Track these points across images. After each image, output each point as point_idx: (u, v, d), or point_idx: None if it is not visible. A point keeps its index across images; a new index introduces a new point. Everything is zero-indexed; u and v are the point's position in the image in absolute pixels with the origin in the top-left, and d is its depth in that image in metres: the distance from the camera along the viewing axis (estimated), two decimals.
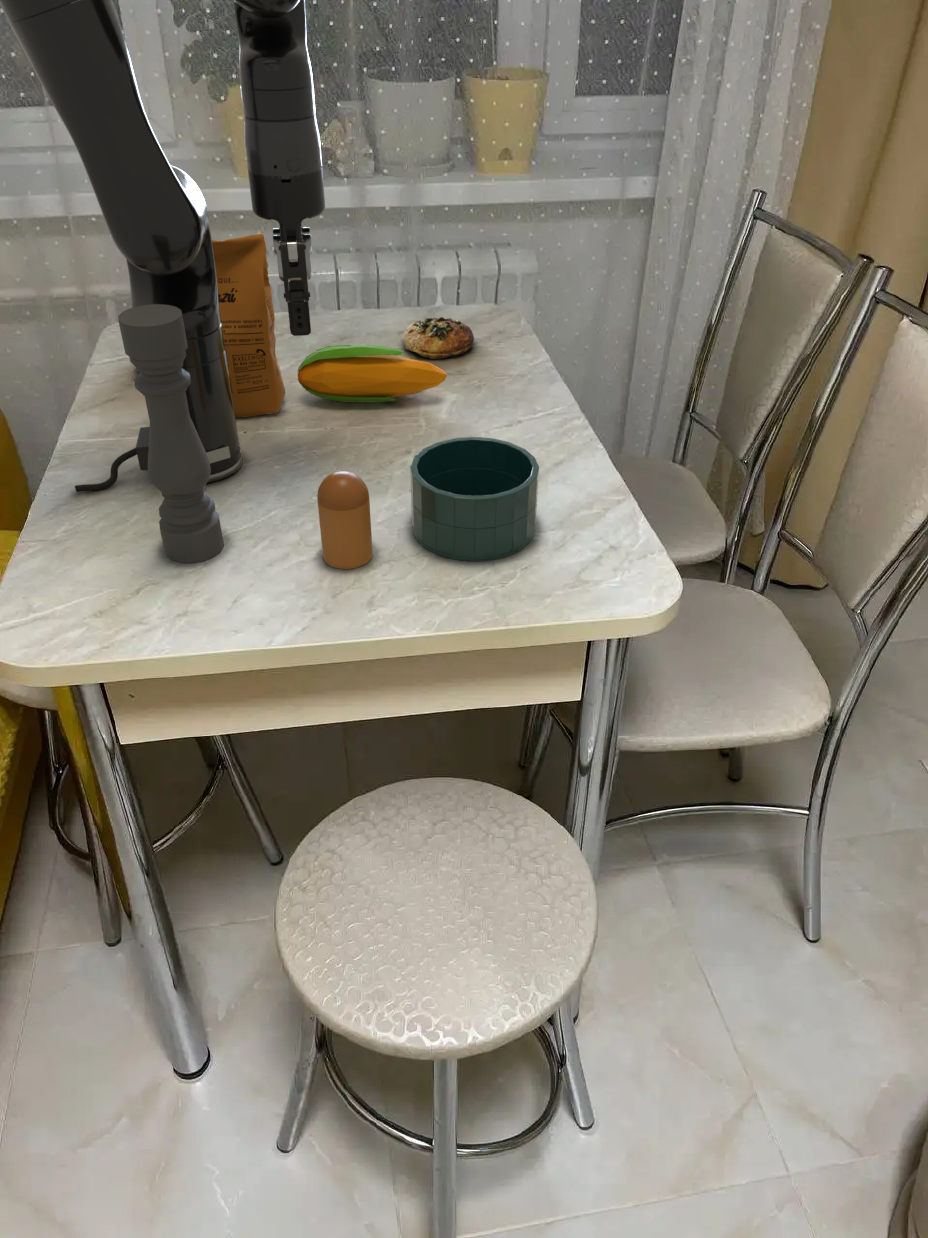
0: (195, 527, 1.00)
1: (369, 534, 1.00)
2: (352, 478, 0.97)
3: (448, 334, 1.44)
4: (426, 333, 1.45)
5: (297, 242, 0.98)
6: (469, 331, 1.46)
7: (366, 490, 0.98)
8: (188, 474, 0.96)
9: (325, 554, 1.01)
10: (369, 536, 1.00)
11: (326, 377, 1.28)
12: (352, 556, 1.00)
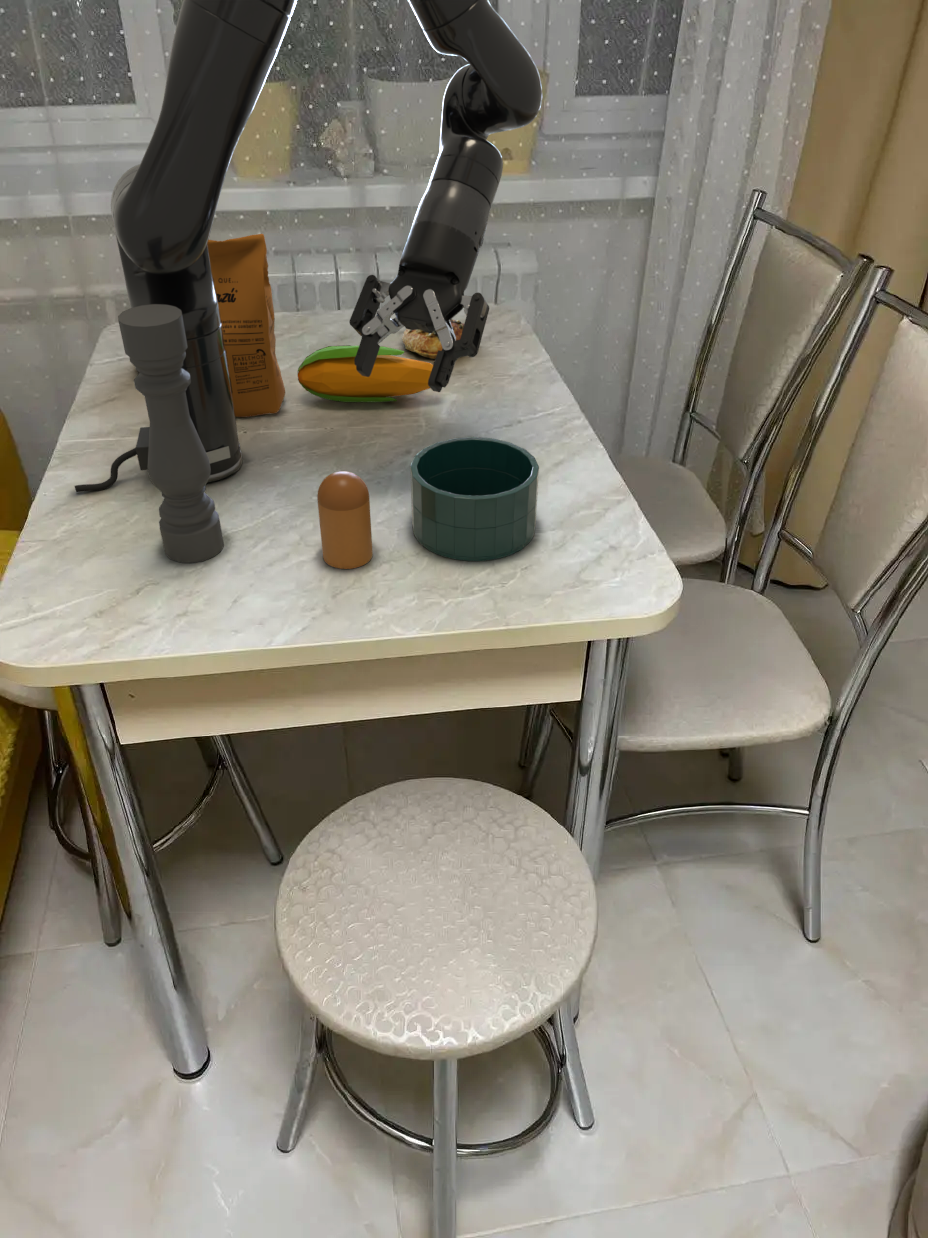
0: (195, 527, 1.00)
1: (369, 534, 1.00)
2: (352, 478, 0.97)
3: None
4: (426, 333, 1.45)
5: None
6: None
7: (366, 490, 0.98)
8: (187, 474, 0.96)
9: (325, 554, 1.01)
10: (369, 536, 1.00)
11: (325, 377, 1.28)
12: (352, 556, 1.00)
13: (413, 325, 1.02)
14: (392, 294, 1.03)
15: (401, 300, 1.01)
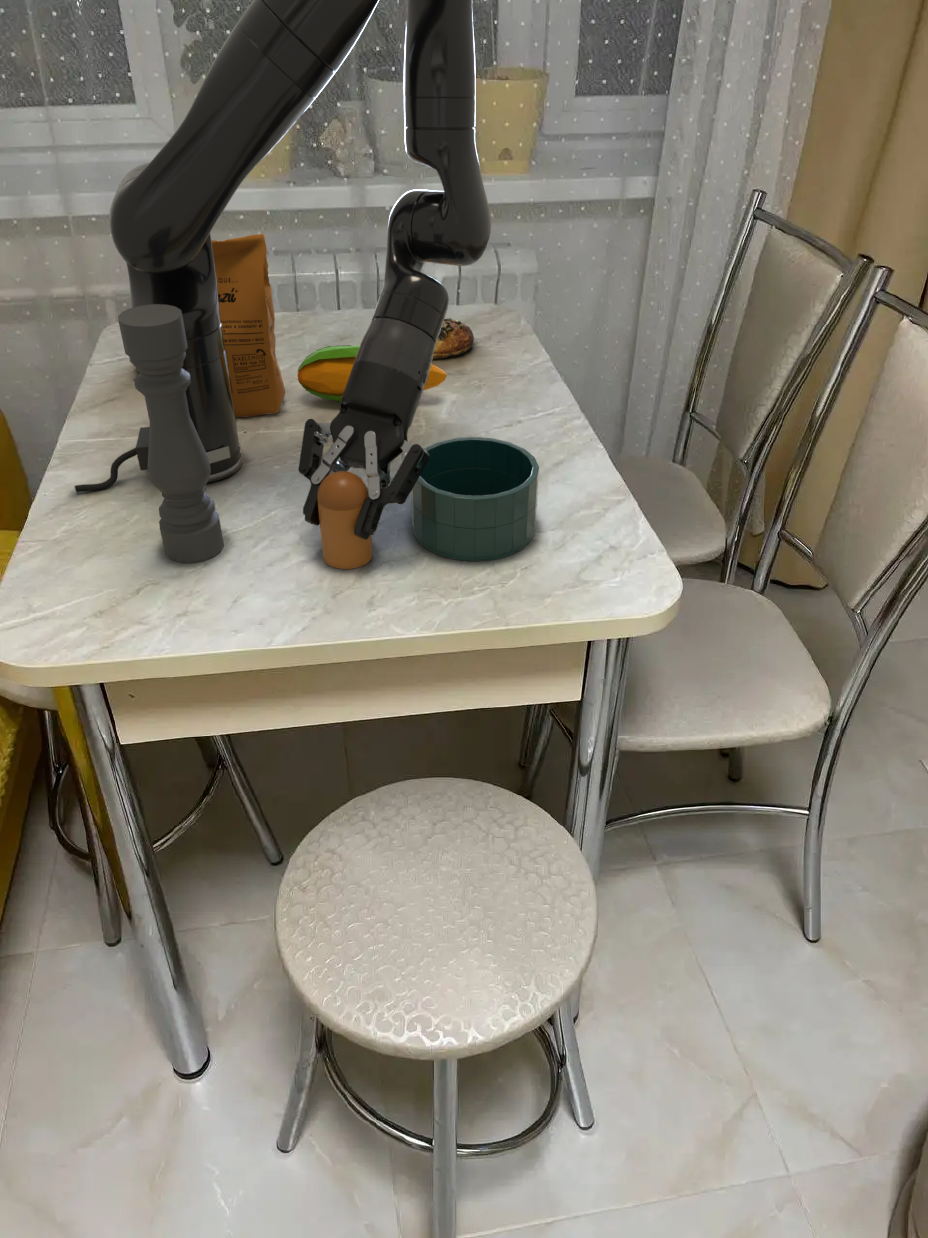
0: (195, 527, 1.00)
1: None
2: (352, 478, 0.97)
3: (448, 334, 1.44)
4: None
5: (426, 452, 0.98)
6: (469, 331, 1.46)
7: (366, 490, 0.98)
8: (187, 474, 0.96)
9: (325, 554, 1.01)
10: (369, 536, 1.00)
11: (326, 377, 1.28)
12: (352, 556, 1.00)
13: (355, 465, 0.99)
14: (333, 432, 1.00)
15: (344, 441, 0.98)
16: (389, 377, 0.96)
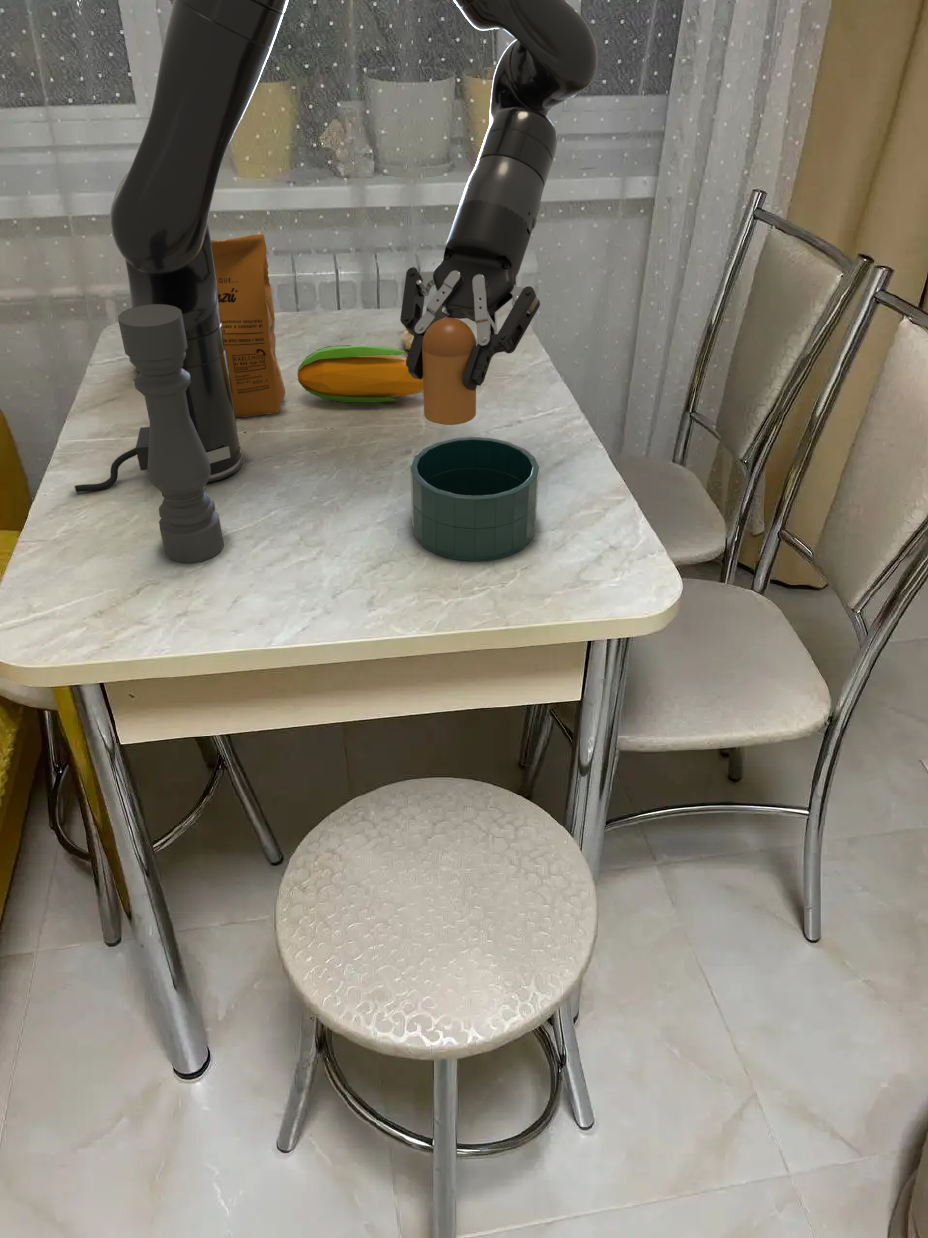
0: (195, 527, 1.00)
1: None
2: (461, 323, 0.92)
3: None
4: None
5: None
6: None
7: (474, 337, 0.93)
8: (187, 474, 0.96)
9: (428, 410, 0.96)
10: None
11: (326, 377, 1.28)
12: (458, 410, 0.95)
13: (460, 313, 0.94)
14: (437, 280, 0.95)
15: (450, 287, 0.93)
16: (499, 216, 0.91)
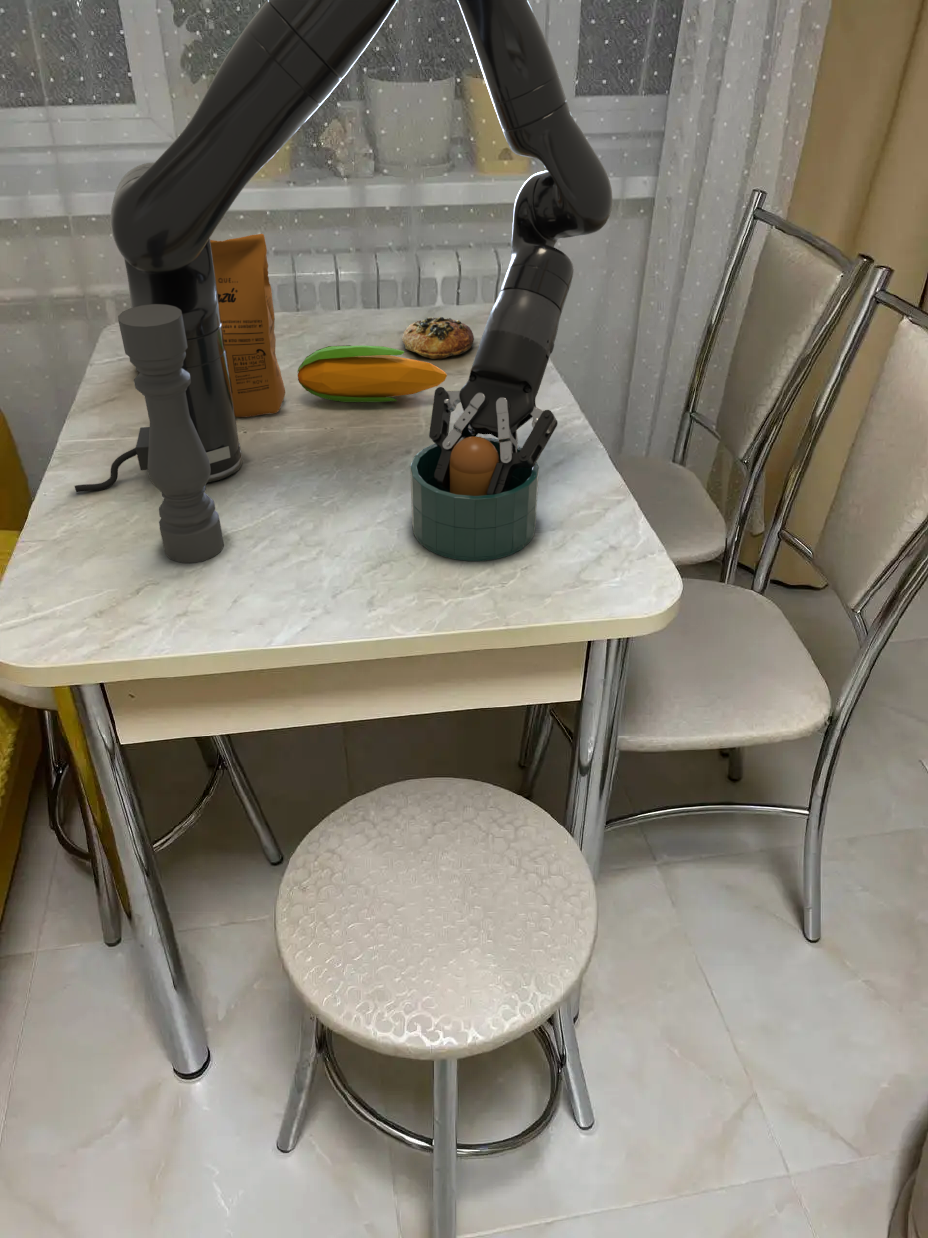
0: (195, 527, 1.00)
1: None
2: (485, 443, 1.01)
3: (448, 334, 1.44)
4: (426, 333, 1.45)
5: (554, 418, 1.02)
6: (469, 331, 1.46)
7: (497, 454, 1.02)
8: (187, 474, 0.96)
9: None
10: None
11: (326, 377, 1.28)
12: None
13: (484, 431, 1.03)
14: (463, 400, 1.04)
15: (476, 408, 1.02)
16: (521, 345, 1.00)
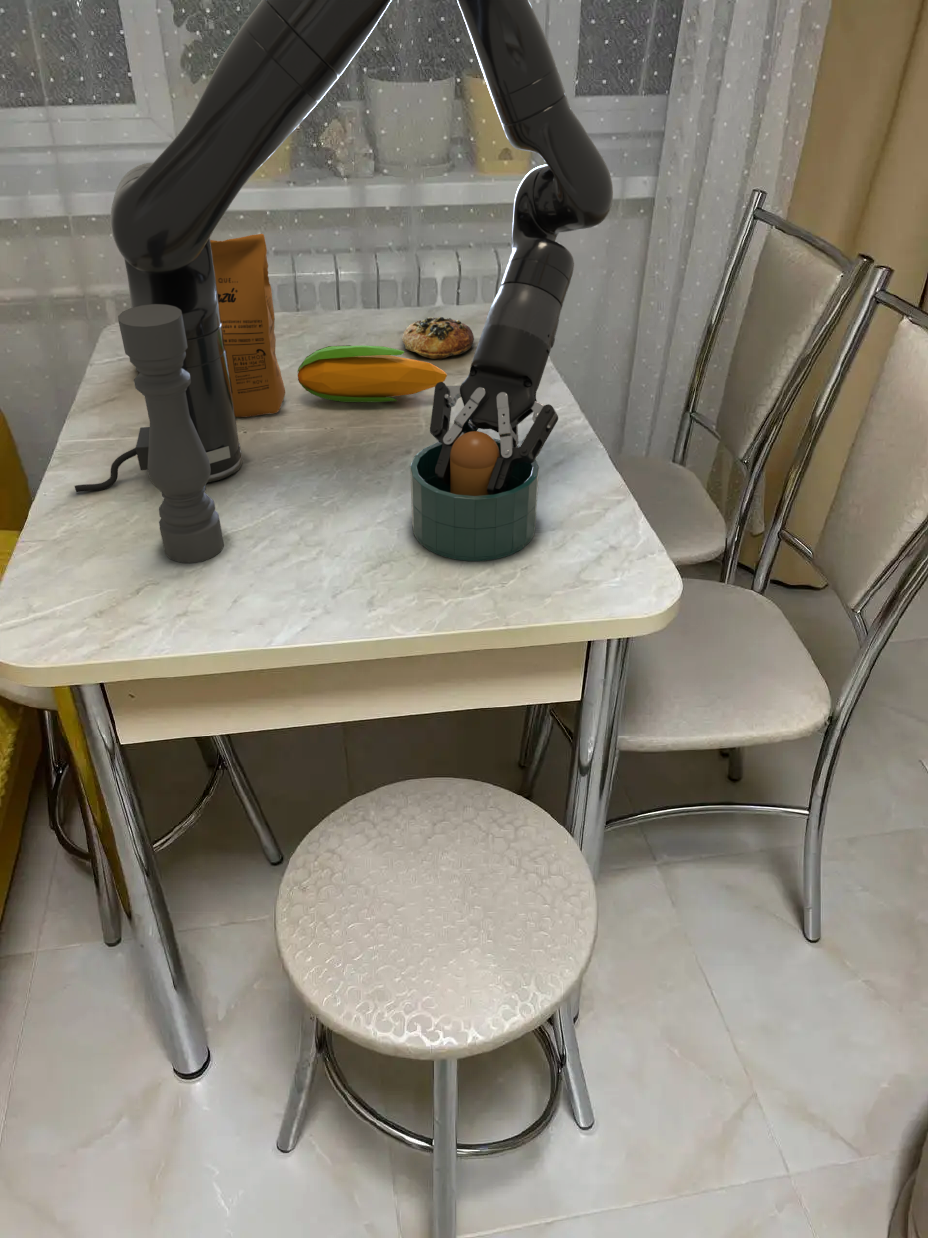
0: (195, 527, 1.00)
1: None
2: (486, 438, 1.00)
3: (448, 334, 1.44)
4: (426, 333, 1.45)
5: (555, 413, 1.01)
6: (469, 331, 1.46)
7: (498, 449, 1.01)
8: (187, 474, 0.96)
9: None
10: None
11: (326, 377, 1.28)
12: None
13: (485, 425, 1.03)
14: (464, 394, 1.03)
15: (476, 403, 1.02)
16: (522, 340, 1.00)
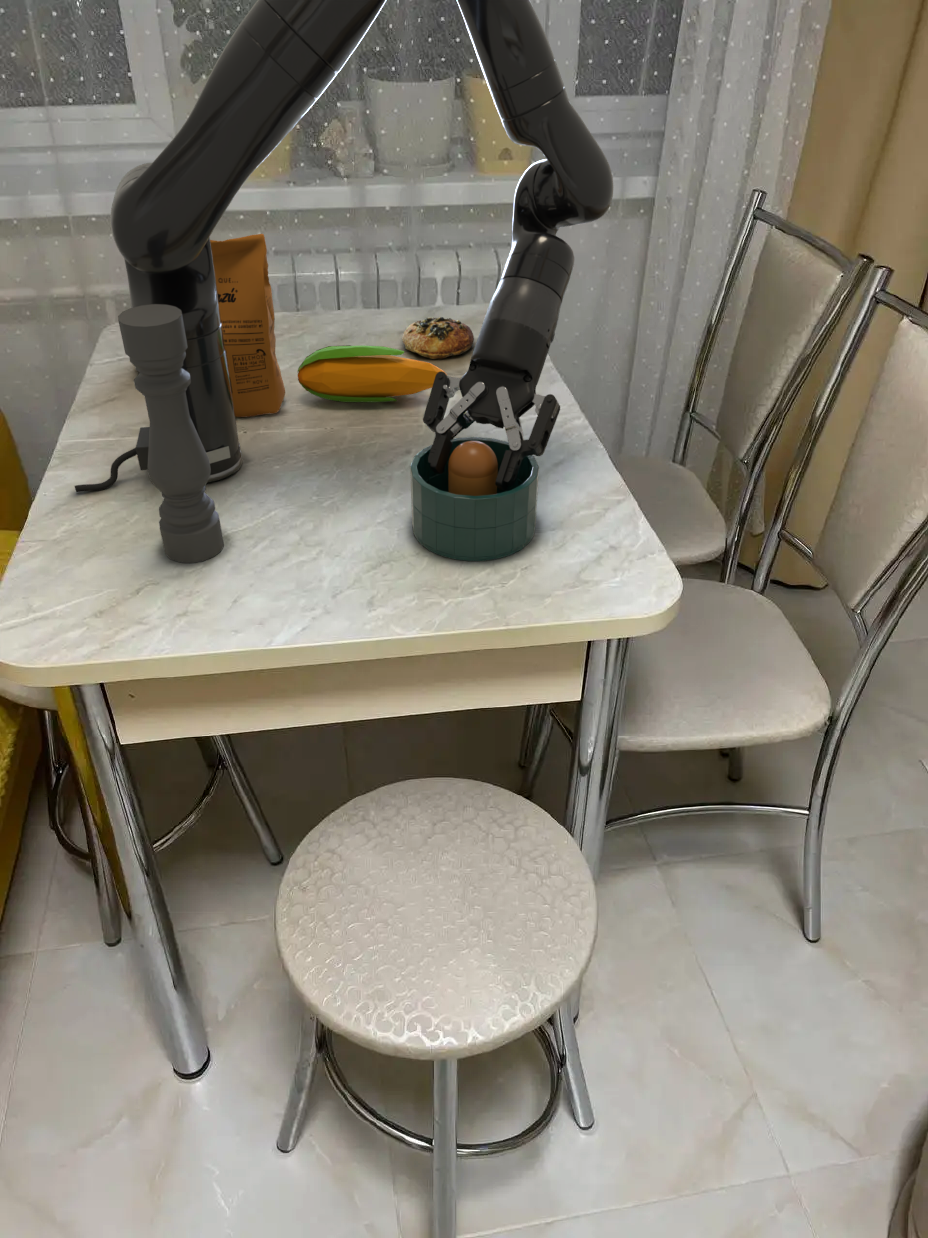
0: (195, 527, 1.00)
1: None
2: (484, 447, 1.01)
3: (448, 334, 1.44)
4: (426, 333, 1.45)
5: None
6: (469, 331, 1.46)
7: (496, 459, 1.02)
8: (187, 474, 0.96)
9: None
10: None
11: (326, 377, 1.28)
12: None
13: (484, 420, 1.03)
14: (463, 389, 1.03)
15: (474, 397, 1.01)
16: (522, 334, 0.99)
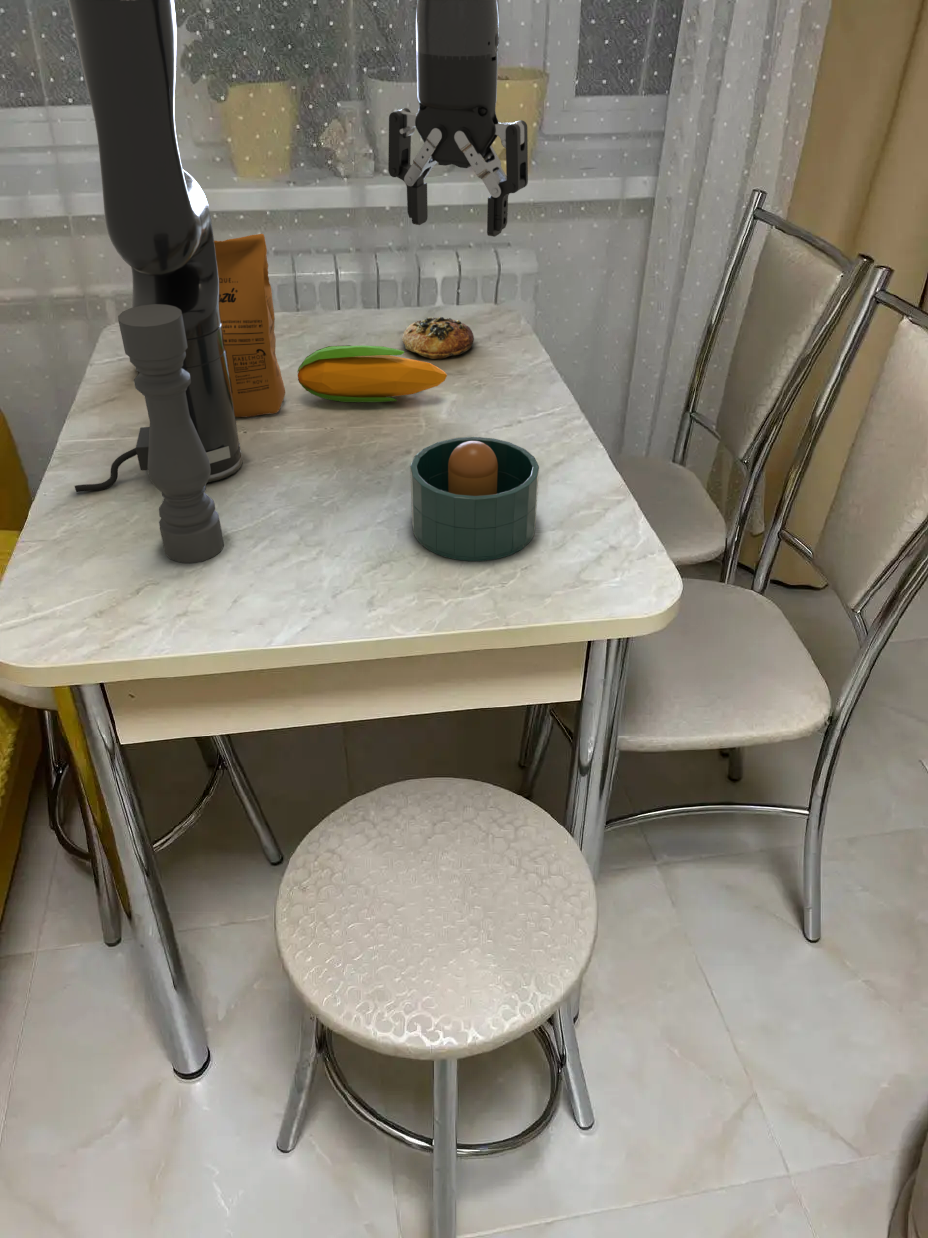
0: (195, 527, 1.00)
1: None
2: (484, 447, 1.01)
3: (448, 334, 1.44)
4: (426, 333, 1.45)
5: (521, 122, 0.92)
6: (469, 331, 1.46)
7: (496, 459, 1.02)
8: (187, 474, 0.96)
9: None
10: None
11: (326, 377, 1.28)
12: None
13: None
14: (422, 134, 0.95)
15: (433, 146, 0.94)
16: (460, 69, 0.88)
